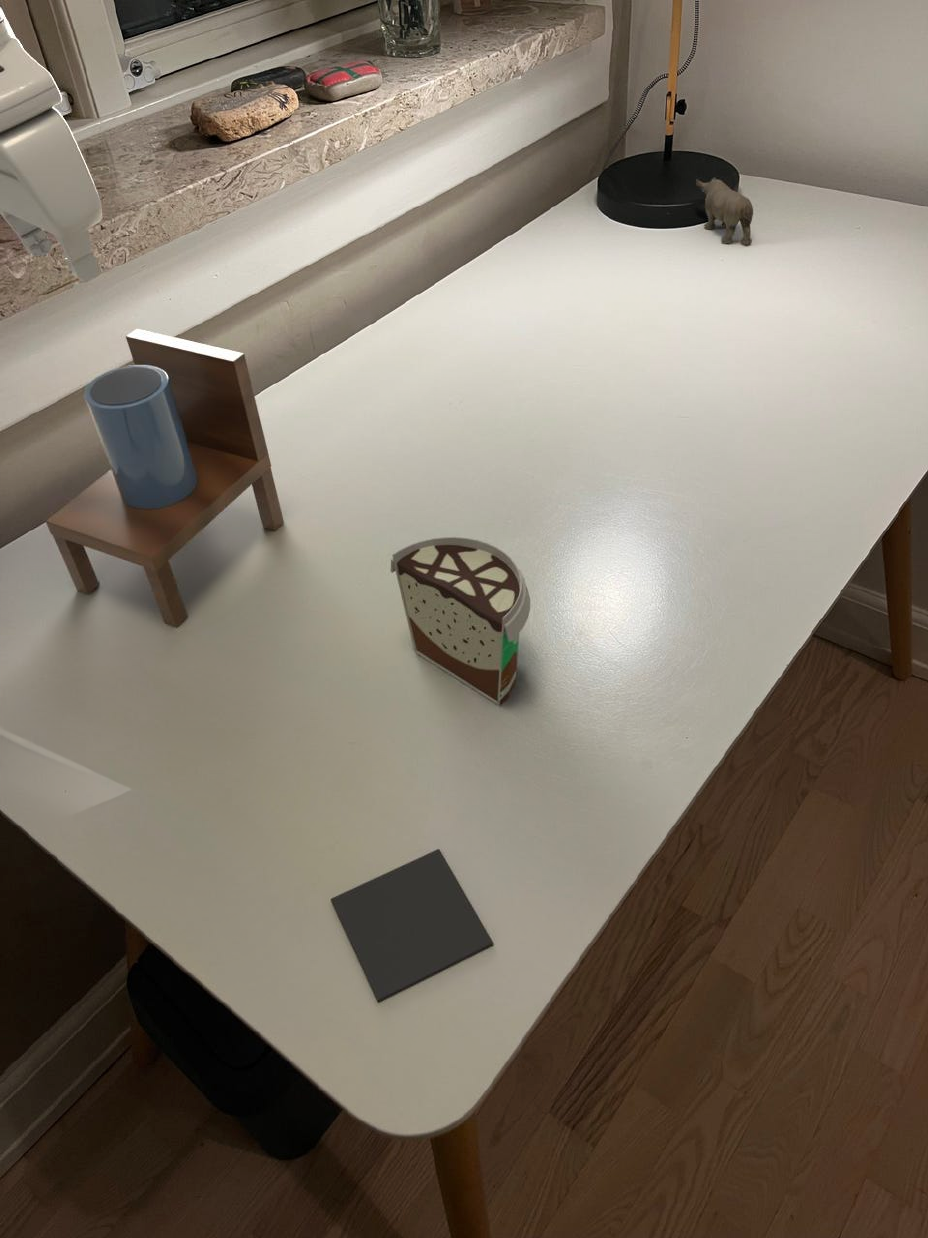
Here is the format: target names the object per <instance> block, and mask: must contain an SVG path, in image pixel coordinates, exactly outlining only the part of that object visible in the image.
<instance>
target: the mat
mask: <svg viewBox="0 0 928 1238" xmlns="http://www.w3.org/2000/svg"><path fill="white" fill-rule="evenodd" d="M330 902H331V904H332V907H333V909H334V911H335V912H336V916H337V917H338V920H339V922H340V923H341V926H342V928H343V930H344V932H345V934H346V937H347V939H348V941H349V943H350V946H351V947H352V949H353V951H354V952H353V953H354V954H355V956H356V958H357V961H358V963H359V965H360V967H361V969H362V971H363V973H364V975H365V977H366V980H367V982H368V984H369V987H370V989H371V990H372V992H373V995H374V998H375V999H376V1002H377V1003H380V1002H382V1001H384V1000H386V999H388V998H390V997H392V996H394V995H397V994H398V993H400V992H402V991H404V990H406V989H408V988H410V987H412V986H414V985H416V984H419V983H421V982H422V981H424V980H425V979H428V978H430V977H432V976H434V975H436V974H438V973H440V972H442V971H444V970H446V969H448V968H450V967H453V966H454V965H456V964H458V963H460V962H462V961H464V960H466V959H468V958H470V957H472V956H474V955H476V954H478V953H480V952H482V951H484V950H486V949H488V948H491V947H492V946H494V941H493V940H492V938H491V936H490V934H489V933H488V931H487V929H486V928H485V926H484V924H483V922H482V921H481V919H480V916H479V915H478V914H477V912H476V910H475V908H474V907H473V905H472V903H471V901H470V900H469V898H468V897H467V895H466V893H465V891H464V889H463V888H462V885H461V884H460V882H459V881H458V879H457V877H456V875H455V874H454V872H453V870H452V868H451V867H450V865H449V863H448V862H447V860H446V858H445V856H444V855H443V853H442V851H441V850H440V848H437V849H435V850H433V851H431V852H429V853H427V854H425V855H423V856H420V857H418V858H416V859H413V860H412V861H409V862H407V863H405V864H403V865H400V866H399V867H397V868H394V869H392V870H389V871H388V872H385V873H383V874H381V875H379V876H377V877H375V878H373V879H370V880H369V881H366V882H364V883H362V884H359V885H358V886H356V887H353V888H351V889H348V890H346V891H344V892H342V893H340V894H338V895H336V896H334V897H331V898H330Z"/></svg>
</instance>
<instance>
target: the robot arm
mask: <svg viewBox="0 0 928 1238" xmlns="http://www.w3.org/2000/svg"><path fill="white" fill-rule="evenodd" d="M62 102H63V97H62V94H61V91H60V89H59V88H58V85H57V84H56V81H55V80H54V78H53V76H52V74H51V73H50V72H49V71H48V70H47V69H46V68H45V67H44V66H42V65H41V64H40V63H38V62H37V60H35V59H34V58H33V57H32V56H31V55H30V54H29V53H28V52H27V51H26V50H25V49H24V47H23V44H21V42H20V40H19V39H18V38H17V37H16V35H15V34H14V32H13V29H12V28H11V26H10V24H9V21H8V20H7V18H6V16H5V14H4V11H3V9H2V8H1V7H0V215H1V217H2V218H3V219H4V220H5V222H6V223H7V224H8V225H9V227H10V228H11V229H12V230H13V232H14V233H15V234H16V235H17V237H18V238H19V240H20V241H21V244H22V245H23V247H24V248H25V250H26V252H27V253H28V254H29V255H31V256H34V257H36V258H41V257H43V256H44V255H46V254H48V253H50V252H52V250H53V243H52V241H51V240H50V238H49V236H48V234H47V233H49V234H51V235H53V236H54V238H55V241H56V242H57V243H60V245H61V248H62V251H63V252H64V255H65V258H64V261H65V263H66V264H67V266H68V267H67V268H68V269H69V270H70V272H71V274H72V276H73V277H74V278H76V279H78V280H79V281H81V282H84V283H88V282H90V281H92V280H93V279H96V278H97V277H99V276H100V275H101V273H102V269H101V266H100V264H99V262H98V260H97V258H96V256H95V255H94V252H93V246H92V242H91V236H90V231H89V230H88V229H90V228H92V227H93V226H96V225H97V224H99V223H100V222H102V220H103V207H102V200H101V198H100V195H99V192H98V190H97V188H96V184H95V183H94V180H93V178H92V175H91V173H90V170H89V168H88V166H87V164H86V161H85V159H84V157H83V154H82V152H81V150H80V148H79V145H78V143H77V140H76V139H75V137H74V134H73V132H72V131H71V128H70V126H69V125H68V123H67V121H66V120H65V118H64V117H63V115H62V114H61V113H60V112H59V110H57V109H56V108H55V107H56V106H58V105H59V104H61V103H62Z"/></svg>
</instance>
